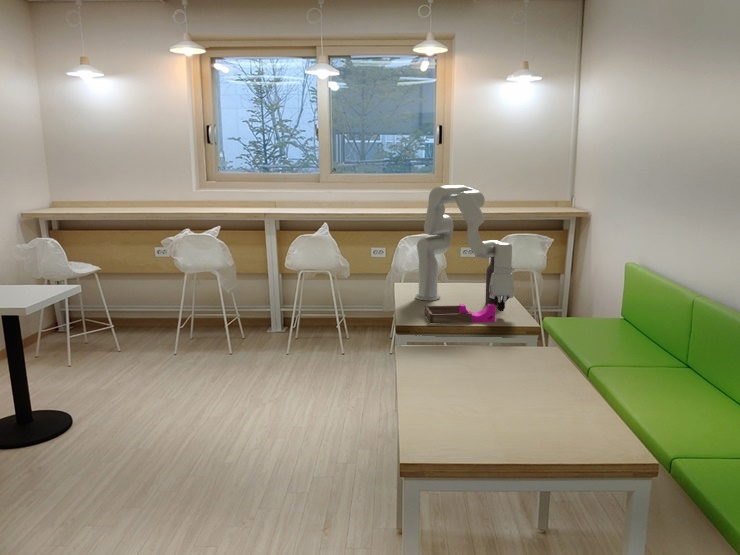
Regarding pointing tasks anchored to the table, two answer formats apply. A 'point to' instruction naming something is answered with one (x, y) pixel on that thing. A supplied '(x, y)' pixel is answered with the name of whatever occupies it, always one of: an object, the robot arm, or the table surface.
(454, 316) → the walnut bay
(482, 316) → the magenta curved block
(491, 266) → the beer bottle
